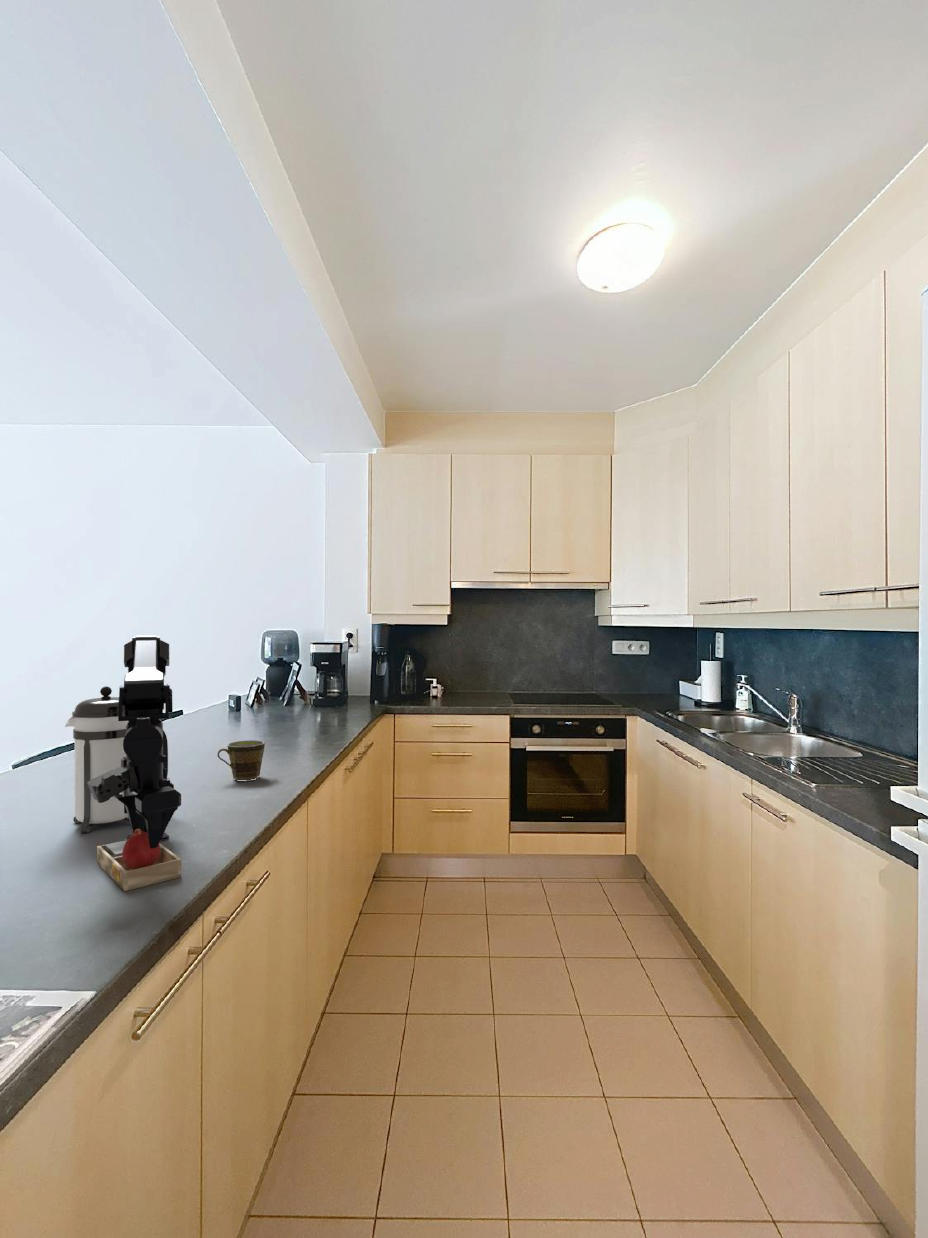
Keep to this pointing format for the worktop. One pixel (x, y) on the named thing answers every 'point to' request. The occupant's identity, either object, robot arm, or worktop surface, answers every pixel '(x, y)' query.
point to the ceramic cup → (245, 758)
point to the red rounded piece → (139, 851)
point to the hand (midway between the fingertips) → (145, 841)
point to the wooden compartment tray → (132, 879)
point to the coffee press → (99, 756)
